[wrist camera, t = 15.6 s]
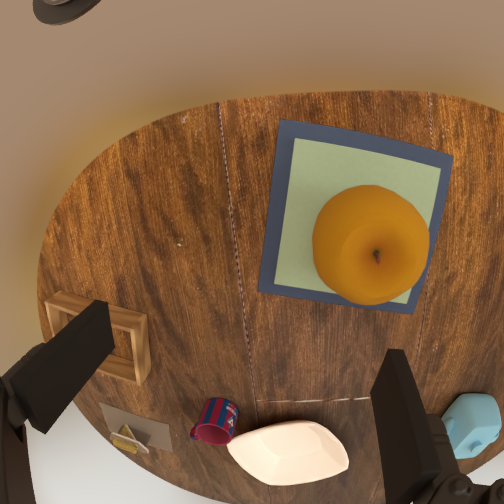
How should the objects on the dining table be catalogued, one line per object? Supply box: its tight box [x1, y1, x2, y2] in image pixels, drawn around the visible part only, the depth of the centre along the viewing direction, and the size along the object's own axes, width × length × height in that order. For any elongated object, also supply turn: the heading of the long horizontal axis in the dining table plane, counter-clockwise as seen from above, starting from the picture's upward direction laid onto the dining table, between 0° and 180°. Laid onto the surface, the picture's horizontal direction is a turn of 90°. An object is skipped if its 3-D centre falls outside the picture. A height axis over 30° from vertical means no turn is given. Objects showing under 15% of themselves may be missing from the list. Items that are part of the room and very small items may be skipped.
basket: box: [45, 290, 151, 386], centre depth 52 cm, size 13×20×5 cm, turn 83°
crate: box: [257, 119, 453, 315], centre depth 34 cm, size 16×16×14 cm
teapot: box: [441, 393, 501, 459], centre depth 43 cm, size 12×18×12 cm
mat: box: [274, 138, 441, 304], centre depth 27 cm, size 13×13×1 cm
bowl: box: [227, 420, 349, 485], centre depth 54 cm, size 22×22×5 cm
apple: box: [312, 185, 429, 305], centre depth 22 cm, size 9×8×9 cm
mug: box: [190, 398, 239, 446], centre depth 53 cm, size 7×10×7 cm
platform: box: [99, 402, 173, 454], centre depth 61 cm, size 12×18×7 cm, turn 85°
